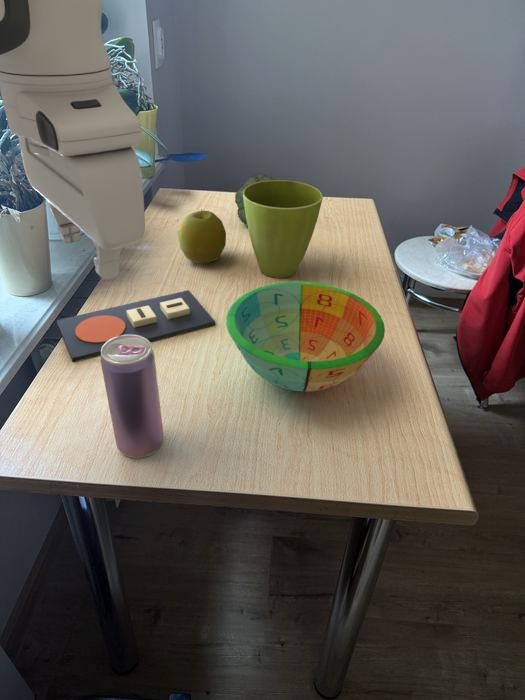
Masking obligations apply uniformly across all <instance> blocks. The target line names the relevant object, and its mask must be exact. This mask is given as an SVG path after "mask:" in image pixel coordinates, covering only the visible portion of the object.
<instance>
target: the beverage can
mask: <svg viewBox="0 0 525 700" xmlns="http://www.w3.org/2000/svg"><path fill="white" fill-rule="evenodd" d="M99 359H100V365H101V370H102V376H103V381H104V385H105V386H104V387H105V392H106V398H107V402H108V408H109V413H110V418H111V424H112V430H113V434H114V439H115V445H116V448H117V449H118V451H119V452H120V453H122V454H123V455H125V456H126V457H129V458H132V459H133V458H134V459H141V458H146V457H148V456H151V455H152V454H155V452H157V451H158V450H159V448H160V447H161V446H162V444H163V442H164V438H165V437H164V427H163V418H162V410H161V401H160V392H159V391H160V390H159V383H158V373H157V365H156V364H157V363H156V355H155V351H154V349H153V345H152V343H151V342H150V341H149V340H147V339H146V338H144V337H142V336H138V335H122V336H118V337H115V338H113V339H111V340H109V341H107V342H106V343H105V344H104V345H103V347H102V349H101V355H100V358H99Z"/></svg>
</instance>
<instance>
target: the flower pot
mask: <svg viewBox="0 0 525 700" xmlns="http://www.w3.org/2000/svg"><path fill="white" fill-rule="evenodd" d="M243 199H244V207H245V214H246V220H247V225H246V226H247V229H248V234H249V239H250V242H251V245H252V249H253V252H254V256H255V259H256V262H257V265H258V266H259V269H260V271H261V273H262V274H263V275H265V276H266V277H267V276H268V277H270V278H273V279H275V278H276V279H286V278H290V277H292V276H294V275H295V274H296V273H297V271H298V269H299V267H300V265H301V263H302V261H303V260H304V257H305V255H306V253H307V250H308V247H309V246H310V243H311V240H312V237H313V235H314V232H315V228H316V225H317V221H318V218H319V215H320V210H321V207H322V203H323V199H324V195H323V193H322V192H321V191H320V189H318V188H317V187H315V186H312V185H310V184H308V183H305V182H301V181H295V180H285V179H284V180H283V179H278V180H270V181H262V182H257V183H254V184H251V185H249V186H248V187H246V188H245V189H244V191H243Z"/></svg>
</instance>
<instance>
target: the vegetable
mask: <svg viewBox="0 0 525 700" xmlns="http://www.w3.org/2000/svg"><path fill="white" fill-rule="evenodd" d="M270 180H279V179H278V178H273V177H269V176H267V175H266V174H264V173H259V172H258V173H256V174H254V175H252V176H249V177H248V179H247V180H245V181H244V183H243V184H242V186H241V187H240V188H238V190H237V191H236V192H235V196H234V202H235V204H236V206H237V217H238V220H239V221H241V223H243V224H244V225H245V226H248V225H247V220H246V214H245V207H244V199H243V191H244V189H245V188H246V187H248V186H249V185H251V184H254V183H257V182H262V181H270Z"/></svg>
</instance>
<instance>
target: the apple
mask: <svg viewBox="0 0 525 700" xmlns="http://www.w3.org/2000/svg"><path fill="white" fill-rule="evenodd" d="M223 223H224V222H223V221H222V220H221V218H219V217H218V215H216V214H215V212H212V211H210V210H203V209H202V208H200V210H198V211H194V212H191V213H189V214H187V215H186V217H184V218H183V220H182V221H181V222H180V225H179V226H178V230H177V238H178V245H179V248H180V250H181V252H182V254H183V255H184V257H185V258H186V259H187V260H189V261H191V262H194V263H197V264H210V263H211V262H214V261H215V260H218V259H219V258H220V256H221V255H222V253H223V251H224V249H225V247H226V245H227V243H226V242H227V230H226V229H225V225H224V224H223Z"/></svg>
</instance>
